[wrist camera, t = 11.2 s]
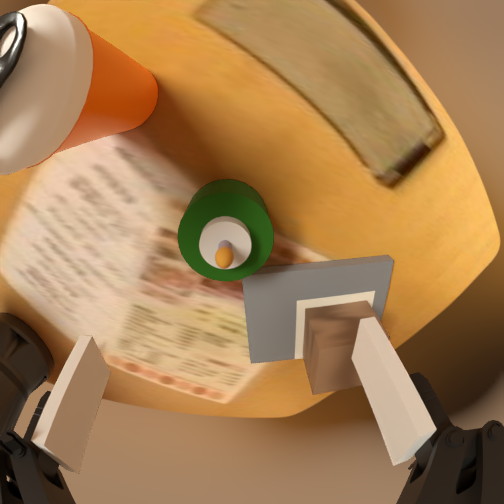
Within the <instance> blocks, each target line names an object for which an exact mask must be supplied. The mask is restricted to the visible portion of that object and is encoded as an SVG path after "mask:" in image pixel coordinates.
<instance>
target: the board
mask: <svg viewBox="0 0 504 504" xmlns="http://www.w3.org/2000/svg"><path fill="white" fill-rule="evenodd" d="M393 262H394V260H393V259H392V258H391V257H390V256H389V255H383V256H373V257H364V258H354V259H344V260H334V261H324V262H313V263H303V264H292V265H281V266H270V267H261V268H260V269H258V270H257V271H256V272H255V273H253V274H251V275H250V276H248V277H245V278H243V279H242V283H243V293H244V303H245V313H246V322H247V332H248V342H249V351H250V360H251V363H261V362H271V361H281V360H289V359H301V358H303V355H302V353H303V339H304V322H305V308H313V307H321V306H329V305H337V304H344V303H351V302H358V301H364V300H367V301H368V303H369V304H370V306H371V307H372V309H373V311H374V312H375V314H376V315H377V317H378V319H379V320H380V322H381V319H382V315H383V311H384V306H385V302H386V298H387V293H388V288H389V283H390V278H391V273H392V268H393Z"/></svg>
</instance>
